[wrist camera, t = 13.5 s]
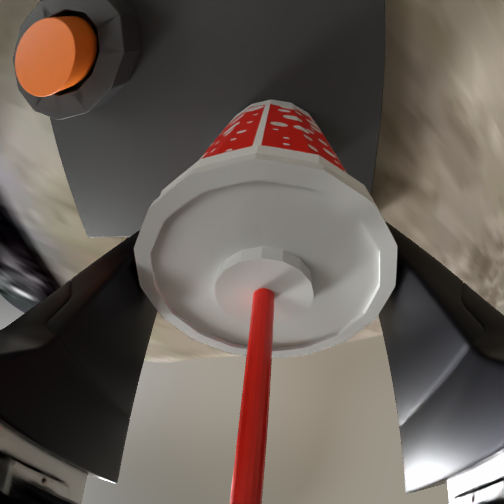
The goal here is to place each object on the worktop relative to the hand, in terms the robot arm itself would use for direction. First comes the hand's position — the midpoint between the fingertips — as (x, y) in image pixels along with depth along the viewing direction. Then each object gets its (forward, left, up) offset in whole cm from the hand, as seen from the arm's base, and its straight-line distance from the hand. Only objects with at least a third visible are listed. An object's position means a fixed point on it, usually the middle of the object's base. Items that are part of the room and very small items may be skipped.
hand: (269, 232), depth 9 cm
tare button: (-9, +6, -5) cm, 12 cm away
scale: (-3, +2, -8) cm, 9 cm away
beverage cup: (0, 0, -7) cm, 7 cm away
